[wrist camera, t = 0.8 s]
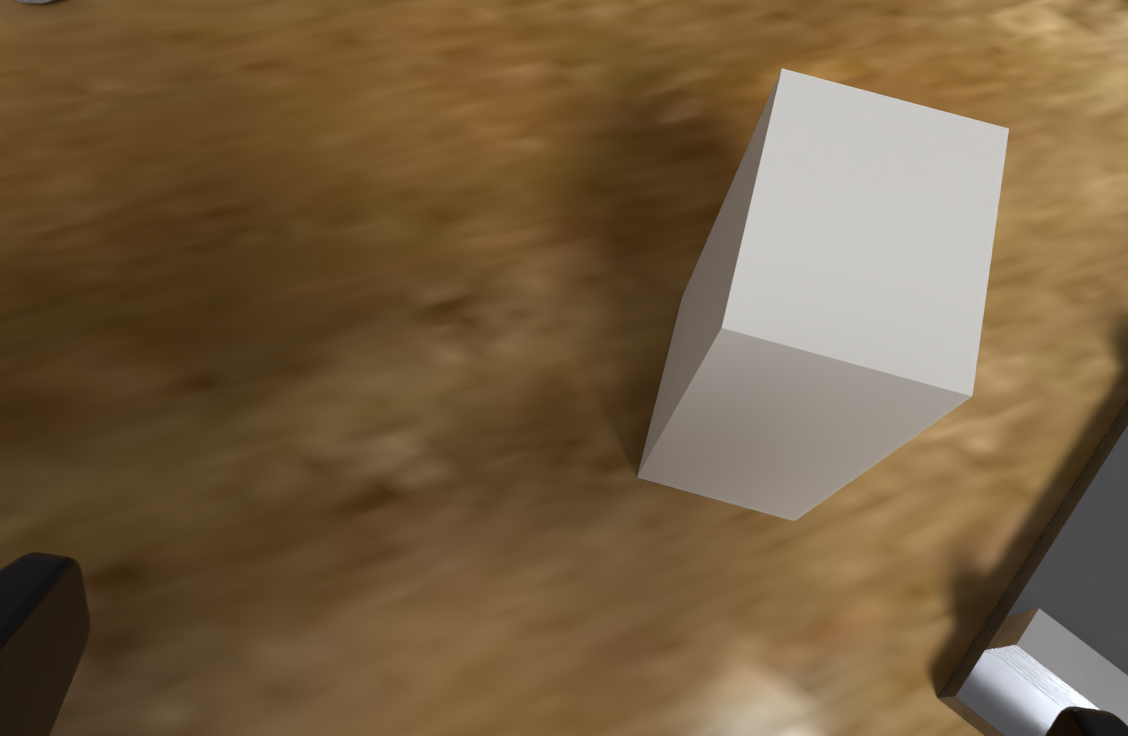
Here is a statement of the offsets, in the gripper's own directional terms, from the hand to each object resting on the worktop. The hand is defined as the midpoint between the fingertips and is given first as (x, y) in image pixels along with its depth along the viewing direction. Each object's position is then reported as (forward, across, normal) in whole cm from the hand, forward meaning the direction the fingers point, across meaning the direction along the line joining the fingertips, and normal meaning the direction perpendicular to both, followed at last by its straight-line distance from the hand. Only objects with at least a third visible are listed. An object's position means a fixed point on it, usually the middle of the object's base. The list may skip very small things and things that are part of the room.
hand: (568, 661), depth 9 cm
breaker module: (+15, -4, +7) cm, 18 cm away
